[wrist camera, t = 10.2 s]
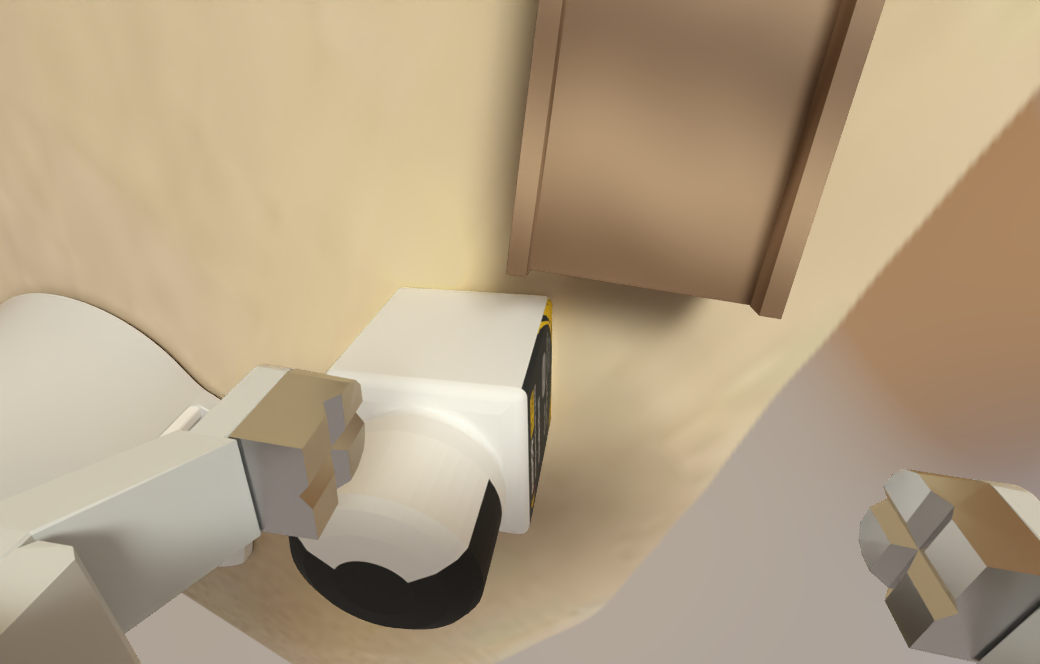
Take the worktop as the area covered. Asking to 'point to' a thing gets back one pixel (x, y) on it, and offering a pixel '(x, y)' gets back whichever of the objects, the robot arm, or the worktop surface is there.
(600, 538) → the worktop surface
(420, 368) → the medicine bottle
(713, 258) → the launch ramp
